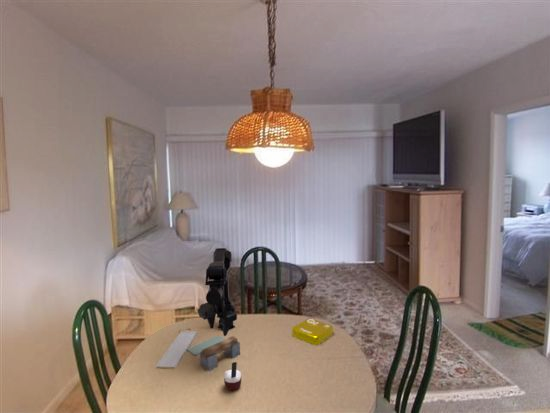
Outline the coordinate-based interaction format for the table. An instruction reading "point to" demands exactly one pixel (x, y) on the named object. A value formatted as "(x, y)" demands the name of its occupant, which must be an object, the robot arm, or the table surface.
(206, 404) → the table surface
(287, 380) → the table surface
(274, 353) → the table surface
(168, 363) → the baseboard
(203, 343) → the mat
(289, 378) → the table surface
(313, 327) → the element tile
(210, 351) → the rail
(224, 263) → the robot arm
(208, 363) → the grey notched block
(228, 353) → the grey block
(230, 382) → the cupcake
